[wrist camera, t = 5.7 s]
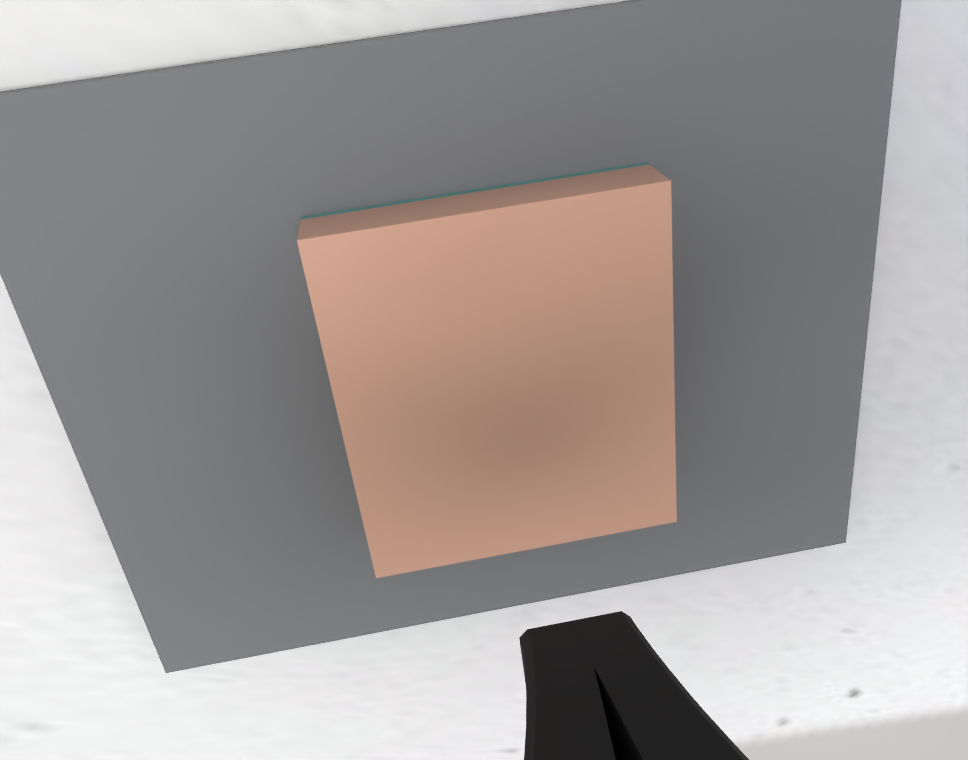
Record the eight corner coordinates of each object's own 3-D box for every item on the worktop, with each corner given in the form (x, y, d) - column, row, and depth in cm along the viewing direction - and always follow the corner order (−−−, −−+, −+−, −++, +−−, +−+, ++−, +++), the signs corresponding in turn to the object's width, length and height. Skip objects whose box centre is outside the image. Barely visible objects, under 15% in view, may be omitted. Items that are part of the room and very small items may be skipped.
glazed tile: (300, 216, 17) (646, 161, 17) (374, 536, 20) (656, 485, 21) (296, 240, 15) (671, 180, 16) (376, 578, 19) (676, 521, 20)
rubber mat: (892, -38, 16) (904, -37, 16) (838, 533, 23) (845, 542, 23) (-61, 100, 15) (-71, 104, 15) (169, 661, 22) (165, 673, 22)
